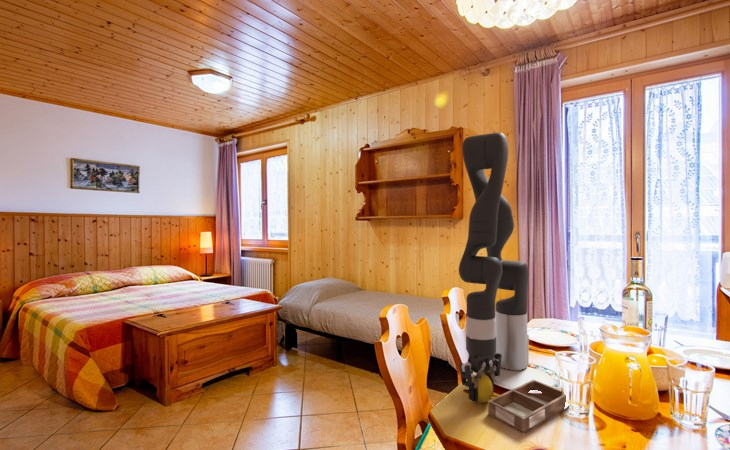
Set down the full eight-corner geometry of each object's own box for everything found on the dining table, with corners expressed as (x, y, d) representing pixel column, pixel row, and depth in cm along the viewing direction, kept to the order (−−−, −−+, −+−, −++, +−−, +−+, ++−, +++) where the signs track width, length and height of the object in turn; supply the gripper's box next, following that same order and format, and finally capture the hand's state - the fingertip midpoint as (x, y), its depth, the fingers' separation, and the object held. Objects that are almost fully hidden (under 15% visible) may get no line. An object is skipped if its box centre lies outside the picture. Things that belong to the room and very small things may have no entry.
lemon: (494, 409, 95) (493, 378, 95) (471, 407, 96) (471, 376, 96) (491, 398, 101) (491, 368, 100) (469, 396, 102) (469, 367, 101)
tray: (533, 392, 103) (533, 379, 103) (569, 407, 95) (569, 394, 95) (487, 415, 93) (487, 401, 93) (524, 434, 85) (524, 419, 84)
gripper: (487, 324, 105) (487, 384, 106) (450, 335, 97) (451, 399, 98) (511, 331, 98) (511, 394, 99) (473, 343, 90) (474, 412, 91)
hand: (481, 397), depth 98 cm, fingers closed on lemon, 5 cm apart
